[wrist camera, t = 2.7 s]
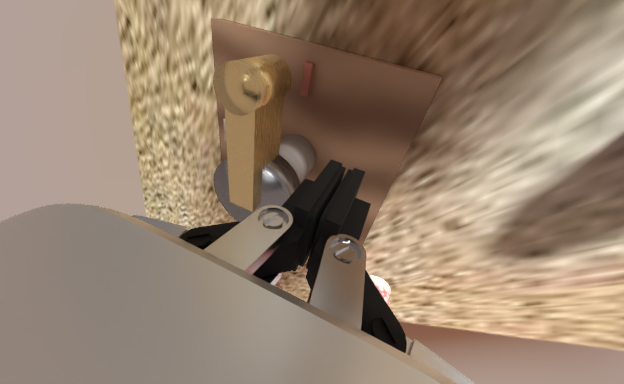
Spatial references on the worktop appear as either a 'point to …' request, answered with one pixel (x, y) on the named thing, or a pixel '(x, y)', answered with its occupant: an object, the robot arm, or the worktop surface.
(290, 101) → the post base
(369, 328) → the robot arm
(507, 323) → the worktop surface
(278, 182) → the brass lever handle
